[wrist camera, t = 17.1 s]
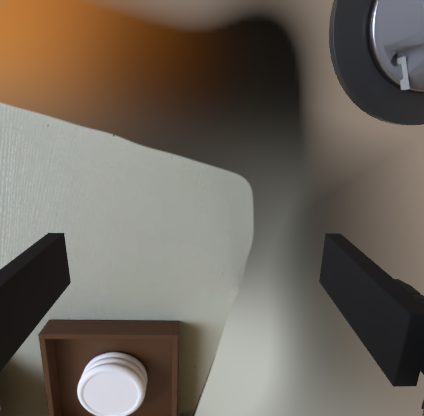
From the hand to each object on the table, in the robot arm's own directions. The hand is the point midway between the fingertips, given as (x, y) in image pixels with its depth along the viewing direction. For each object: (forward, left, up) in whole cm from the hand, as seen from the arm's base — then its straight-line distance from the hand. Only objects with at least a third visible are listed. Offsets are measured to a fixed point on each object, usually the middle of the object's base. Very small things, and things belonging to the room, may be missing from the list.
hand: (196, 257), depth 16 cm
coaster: (+11, +33, -26) cm, 44 cm away
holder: (+11, +33, -27) cm, 44 cm away
